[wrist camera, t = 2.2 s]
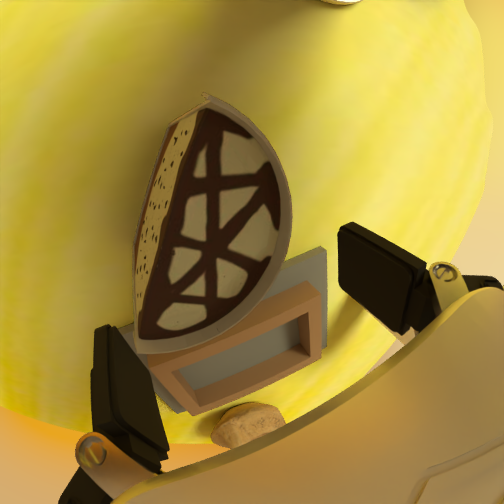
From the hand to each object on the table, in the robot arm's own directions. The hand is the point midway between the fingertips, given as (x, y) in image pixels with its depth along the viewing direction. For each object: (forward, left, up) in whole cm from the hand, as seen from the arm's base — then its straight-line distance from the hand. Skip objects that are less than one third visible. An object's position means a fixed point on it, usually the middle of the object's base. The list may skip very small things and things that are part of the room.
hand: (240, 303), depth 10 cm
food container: (-1, 0, -12) cm, 12 cm away
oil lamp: (+34, -2, -12) cm, 36 cm away
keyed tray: (+16, 0, -12) cm, 20 cm away
